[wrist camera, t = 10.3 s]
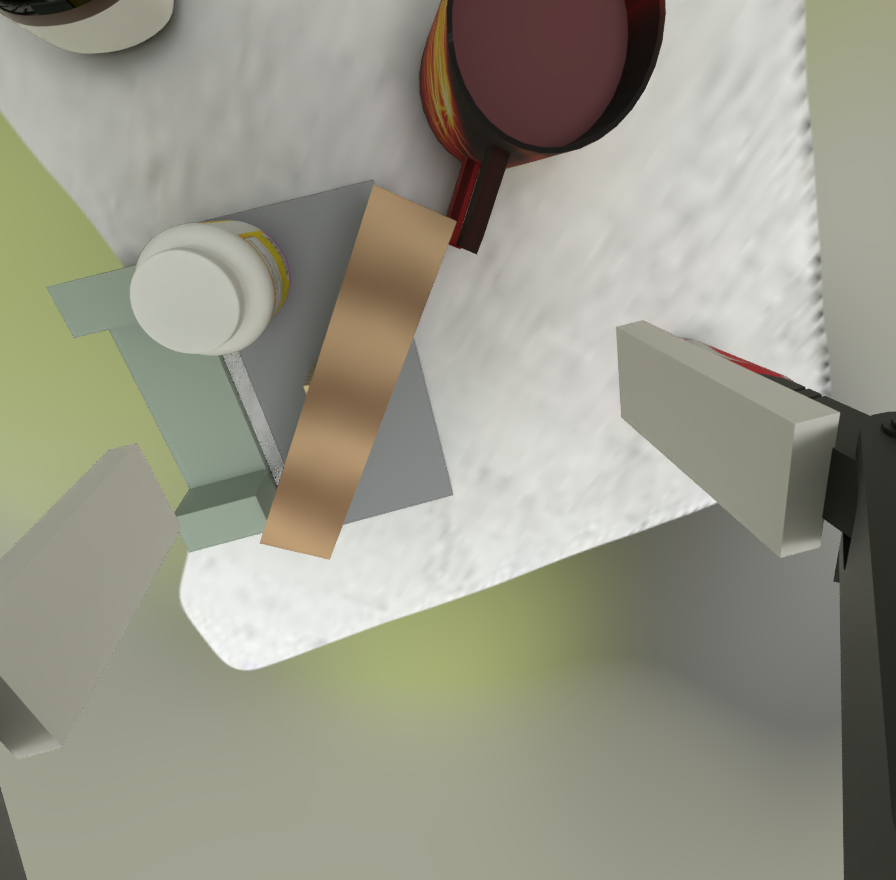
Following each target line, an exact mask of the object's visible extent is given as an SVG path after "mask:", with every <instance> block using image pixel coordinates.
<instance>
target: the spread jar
mask: <svg viewBox="0 0 896 880" xmlns="http://www.w3.org/2000/svg"><path fill="white" fill-rule="evenodd" d="M173 5H174V0H0V13H1V14H3V15H4V16H5V17H7V18H8V19H9V20H11V21H12V22H13V23H15V24H17V25H18V26H20V27H22V28H24V29H25V30H27V31H29V32H31V33H32V34H34V35H36V36H38V37H40V38H42V39H44V40H45V41H47V42H49V43H51V44H53V45H55V46H57V47H60V48H62V49H65V50H69V51H72V52H76V53H84V54H93V53H106V52H113V51H118V50H123V49H126V48H129V47H132V46H135V45H137V44H139V43H141V42H143V41H145V40H147V39H149V38H150V37H152V36H153V35H155V34H156V33H157V32H159V31H160V30H161V29H162V28H163V27H164V26H165V25H166V24H167V22H168V21H169V19H170V17H171V15H172V12H173Z"/></svg>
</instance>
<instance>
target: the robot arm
mask: <svg viewBox="0 0 896 880" xmlns="http://www.w3.org/2000/svg"><path fill="white" fill-rule="evenodd" d="M616 334H617V351H618V369H619V386H620V404H621V417H622V418H623V419H624V420H625V421H626V422H627V423H628V424H629V425H631V426H632V427H633V428H634V429H635V430H636V431H637V432H639V433H640V434H641V435H642V436H643V437H644V438H645V439H646V440H648V441H649V442H650V443H651V444H652V445H653V446H654V447H656V448H657V449H658V450H659V451H660V452H661V453H662V454H663V455H665V456H666V457H667V458H668V459H669V460H670V461H671V462H672V463H674V464H675V465H676V466H677V467H678V468H679V469H680V470H682V471H683V472H684V473H685V474H686V475H687V476H688V477H689V478H691V479H692V480H693V481H694V482H695V483H696V484H697V485H699V486H700V487H701V488H702V489H703V490H704V491H705V492H706V493H708V494H709V495H710V496H711V497H712V498H713V499H714V500H716V501H717V502H718V503H719V504H720V505H721V506H722V507H724V508H725V509H726V510H727V511H728V512H729V513H730V514H731V515H733V516H734V517H735V518H736V519H737V520H738V521H739V522H740V523H742V524H743V525H744V526H745V527H746V528H747V529H748V530H750V531H751V532H752V533H753V534H754V535H755V536H756V537H757V538H759V539H760V540H761V541H762V542H763V543H764V544H765V545H766V546H768V547H769V548H770V549H771V550H772V551H773V552H774V553H776V554H777V555H778V556H779V557H780V558H781V557H784V556H788V555H792V554H796V553H800V552H803V551H808V550H811V549H815V548H819V547H820V543H821V536H822V529H823V522H824V519H825V520H826V521H827V522H829V523H830V524H832V525H833V526H834V527H836V528H837V529H839V530H840V531H841V532H842V535H841V541H840V546H839V552H838V558H837V564H836V570H835V576H834V582H839V583H840V644H841V705H842V706H841V708H842V709H841V712H842V778H843V843H844V844H843V847H844V880H896V412H885V413H880V414H875V415H872V416H869V415H867V414H865V413H862V412H860V411H858V410H856V409H853V408H851V407H849V406H847V405H844V404H842V403H840V402H838V401H835V400H833V399H831V398H829V397H826V396H823V397H822V396H821V394H820V393H818V392H815V391H813V390H811V389H805V387H804V386H802V385H800V384H797V383H795V382H793V381H791V380H788V379H786V378H781V377H777V376H772V375H767V374H762V373H759V374H757V373H755V372H753V371H750V370H748V369H746V368H744V367H742V366H740V365H738V364H735V363H733V362H731V361H729V360H727V359H725V358H723V357H720V356H718V355H716V354H714V353H712V352H710V351H708V350H705V349H703V348H701V347H699V346H697V345H695V344H693V343H690V342H688V341H686V340H684V339H682V338H680V337H677V336H675V335H673V334H671V333H669V332H667V331H665V330H662V329H660V328H658V327H656V326H654V325H652V324H650V323H647V322H645V321H639V322H634V323H630V324H626V325H622V326H618V327H616ZM181 528H182V526H181V525H180V523H179V521H178V519H177V517H176V515H175V513H174V511H173V510H172V508H171V506H170V504H169V502H168V500H167V498H166V497H165V494H164V493H163V491H162V489H161V487H160V485H159V483H158V481H157V479H156V478H155V476H154V474H153V472H152V470H151V468H150V466H149V464H148V463H147V461H146V459H145V457H144V455H143V453H142V451H141V449H140V447H139V446H138V444H137V443H136V444H132V445H128V446H124V447H120V448H115V449H111V450H108V451H107V452H106V453H105V454H104V455H103V456H102V457H101V458H100V459H99V460H98V461H97V462H96V463H95V464H94V465H93V466H92V467H91V468H90V469H89V470H88V471H87V472H86V473H85V474H84V475H83V476H82V477H81V478H80V479H79V480H78V481H77V482H76V483H75V484H74V485H73V486H72V487H71V488H70V489H69V490H68V491H67V492H66V493H65V494H64V495H63V496H62V497H61V498H60V499H59V500H58V501H57V502H56V504H55V505H54V506H53V507H52V508H51V509H50V510H49V511H48V512H47V513H46V514H45V515H44V516H43V517H42V518H41V519H40V520H39V521H38V522H37V523H36V524H35V525H34V526H33V527H32V528H31V529H30V530H29V531H28V532H27V533H26V534H25V535H24V536H23V537H22V538H21V539H20V540H19V541H18V542H17V543H16V544H15V545H14V546H13V547H12V548H11V549H10V550H9V551H8V552H7V553H6V554H5V555H4V556H3V557H2V558H1V559H0V741H1V742H2V743H3V744H4V745H5V746H6V747H7V749H8V750H9V751H10V752H11V753H12V754H13V755H14V756H15V757H16V758H17V759H21V758H24V757H28V756H32V755H36V754H40V753H43V752H47V751H51V750H55V749H58V748H62V747H63V745H64V743H65V741H66V739H67V738H68V736H69V734H70V732H71V730H72V728H73V727H74V725H75V723H76V721H77V719H78V717H79V715H80V714H81V712H82V710H83V708H84V706H85V704H86V703H87V701H88V699H89V697H90V695H91V693H92V692H93V690H94V688H95V686H96V684H97V682H98V681H99V679H100V677H101V675H102V673H103V671H104V669H105V668H106V666H107V664H108V662H109V660H110V658H111V656H112V655H113V653H114V651H115V649H116V647H117V645H118V644H119V642H120V640H121V638H122V636H123V635H124V632H125V631H126V629H127V627H128V625H129V623H130V622H131V620H132V618H133V616H134V614H135V612H136V611H137V609H138V607H139V605H140V603H141V601H142V600H143V598H144V596H145V594H146V592H147V590H148V588H149V586H150V585H151V583H152V581H153V579H154V577H155V575H156V573H157V572H158V570H159V568H160V566H161V565H162V563H163V561H164V559H165V557H166V555H167V554H168V552H169V549H170V548H171V546H172V544H173V542H174V541H175V539H176V537H177V535H178V533H179V531H180V530H181ZM0 880H27V878H26V874H25V871H24V867H23V864H22V861H21V857H20V854H19V850H18V847H17V843H16V840H15V836H14V833H13V829H12V826H11V823H10V820H9V816H8V812H7V809H6V805H5V802H4V799H3V795H2V792H1V788H0Z"/></svg>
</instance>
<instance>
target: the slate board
mask: <svg viewBox="0 0 896 880" xmlns="http://www.w3.org/2000/svg"><path fill="white" fill-rule="evenodd" d="M373 185H375V184H374V180H371V181H366V182H362V183H358V184H354V185H350V186H346V187H342V188H338V189H334V190H330V191H325V192H321V193H317V194H313V195H309V196H305V197H301V198H297V199H293V200H289V201H284V202H280V203H276V204H272V205H268V206H264V207H260V208H256V209H252V210H247V211H243V212H239V213H235V214H231V215H227V216H223V217H219V218H215V219H211V220H206V221H202V222H212V221H223V220H234V221H241V222H245V223H248V224H251V225H253V226H255V227H257V228H259V229H261V230H262V231H264V232H265V233H266V234H268V235H269V236H270V237H271V238H272V239H273V240H274V241H275V242H276V243H277V245H278V246H279V247H280V249H281V250H282V252H283V254H284V256H285V258H286V260H287V263H288V266H289V271H290V289H289V293H288V296H287V299H286V301H285V303H284V305H283V306H282V308H281V309H280V310H279V312H278V313H277V314H276V315H275V317H274V318H273V319H272V321H271V322H270V323H269V324H268V326H267V327H266V329H265V330H264V331H263V333H262V334H261V335H260V336H259V337H258V338H257V339H256V340H255V341H254V342H253V343H251V344H250V345H249V346H247V347H245V348H244V349H242V350H239V353H240V356H241V358H242V361H243V363H244V366H245V368H246V371H247V373H248V376H249V378H250V380H251V383H252V385H253V388H254V390H255V393H256V395H257V398H258V400H259V403H260V405H261V408H262V410H263V413H264V415H265V417H266V420H267V422H268V425H269V427H270V430H271V432H272V435H273V437H274V440H275V442H276V445H277V447H278V450H279V452H280V455H281V457H282V459H283V462H284V464H285V462H286V459H287V456H288V452H289V449H290V446H291V443H292V440H293V437H294V434H295V430H296V427H297V424H298V421H299V418H300V415H301V412H302V408H303V405H304V402H305V399H306V396H307V395H306V393H305V390H304V387H303V386H304V383H305V380H306V377H307V375H308V372H309V369H310V366H311V365H313V364H317V361H318V358H319V355H320V352H321V348H322V345H323V342H324V339H325V336H326V333H327V330H328V326H329V323H330V320H331V317H332V314H333V311H334V308H335V304H336V301H337V298H338V295H339V292H340V289H341V285H342V282H343V279H344V276H345V273H346V270H347V267H348V263H349V260H350V257H351V254H352V251H353V248H354V245H355V241H356V238H357V235H358V232H359V229H360V226H361V222H362V219H363V216H364V213H365V210H366V207H367V204H368V200H369V197H370V194H371V191H372V188H373ZM198 223H201V222H198ZM451 495H453V491H452V488H451V484H450V480H449V476H448V472H447V468H446V464H445V460H444V456H443V452H442V448H441V444H440V440H439V436H438V432H437V428H436V424H435V420H434V417H433V413H432V409H431V405H430V401H429V397H428V393H427V389H426V385H425V381H424V377H423V373H422V369H421V365H420V361H419V357H418V353H417V349H416V345H415V342H414V338H413V339H412V342H411V345H410V347H409V350H408V353H407V355H406V358H405V361H404V363H403V366H402V369H401V371H400V374H399V377H398V379H397V382H396V385H395V387H394V390H393V393H392V395H391V398H390V400H389V403H388V406H387V408H386V411H385V414H384V416H383V419H382V422H381V424H380V427H379V430H378V432H377V435H376V438H375V440H374V443H373V446H372V448H371V451H370V454H369V456H368V459H367V462H366V464H365V467H364V470H363V472H362V475H361V478H360V480H359V483H358V486H357V488H356V491H355V494H354V496H353V499H352V501H351V504H350V507H349V509H348V512H347V515H346V517H345V520H344V523H343V525H344V524H347V523H351V522H355V521H359V520H362V519H366V518H370V517H373V516H377V515H381V514H385V513H388V512H392V511H396V510H399V509H403V508H407V507H411V506H414V505H418V504H422V503H425V502H429V501H433V500H437V499H440V498H444V497H448V496H451Z"/></svg>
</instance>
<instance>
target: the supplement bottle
mask: <svg viewBox="0 0 896 880" xmlns="http://www.w3.org/2000/svg"><path fill="white" fill-rule="evenodd" d="M289 289H290V271H289V266H288V263H287V260H286V258H285V256H284V254H283V252H282V250H281V249H280V247H279V246H278V245H277V243H276V242H275V241H274V240H273V239H272V238H271V237H270V236H269V235H268V234H266V233H265V232H264V231H262V230H261V229H259V228H257V227H255V226H253V225H251V224H248V223H245V222H241V221H234V220H223V221H212V222H201V223H187V224H181V225H177V226H174V227H171V228H168V229H166V230H164V231H162V232H161V233H159V234H158V235H156V236H155V237H154V238H153V239H152V240H150V241H149V242H148V244H147V245H146V246H145V248H144V249H143V251H142V252H141V254H140V256H139V259H138V262H137V265H136V271H135V273H134V275H133V277H132V280H131V285H130V301H131V306H132V309H133V312H134V315H135V317H136V319H137V321H138V323H139V324H140V326H141V327H142V328H143V329H144V331H145V332H146V333H147V334H148V335H149V336H150V337H151V338H153V339H154V340H155V341H156V342H158V343H159V344H161V345H163V346H165V347H167V348H169V349H171V350H174V351H177V352H181V353H188V354H201V355H209V356H218V355H226V354H231V353H234V352H237V351H239V350H242V349H244V348H245V347H247V346H249V345H250V344H251V343H253V342H254V341H255V340H256V339H257V338H258V337H259V336H260V335H261V334H262V333H263V331H264V330H265V329H266V327H267V326H268V324H269V323H270V322H271V321H272V319H273V318H274V317H275V315H276V314H277V313H278V312H279V310H280V309H281V308H282V306H283V305H284V303H285V301H286V299H287V296H288V293H289Z"/></svg>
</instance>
